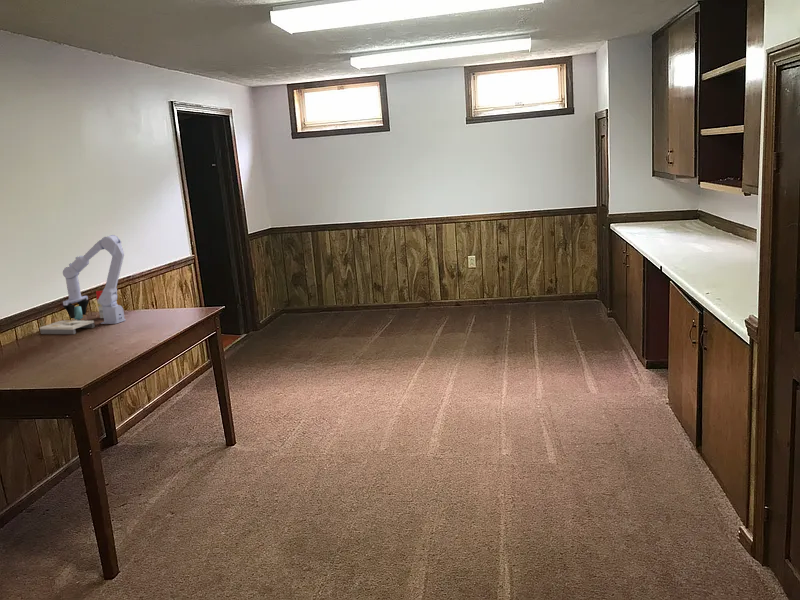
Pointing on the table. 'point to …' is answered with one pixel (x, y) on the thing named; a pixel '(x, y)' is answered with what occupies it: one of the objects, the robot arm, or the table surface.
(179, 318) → the table surface
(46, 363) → the table surface
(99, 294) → the ink box
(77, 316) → the peg
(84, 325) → the board
